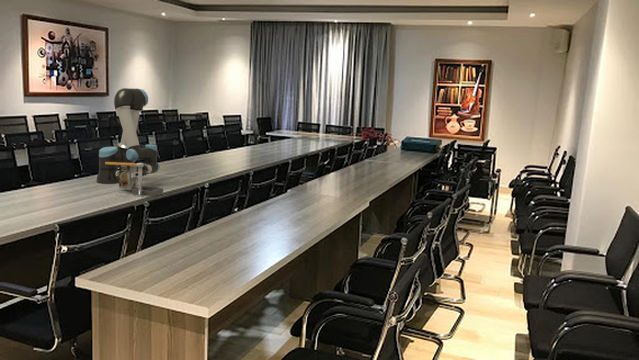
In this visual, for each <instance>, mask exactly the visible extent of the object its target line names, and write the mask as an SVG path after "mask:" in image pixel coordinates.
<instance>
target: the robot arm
mask: <svg viewBox="0 0 639 360" xmlns="http://www.w3.org/2000/svg"><path fill="white" fill-rule="evenodd" d="M148 103H149V96H148V93H147V91H145V89H142V88H127V87H126V88H125V87H124V88H120V89H118V90H117V92H116V93H115V95H114V99H113V106H114V110H115V111H116V112H117V115H118V118H119V121H120V125H121V128H122V134H121V139H120V142H119V143H117V146H104V147H102V148H100V149H99V150H98V166H99V167H98V173H97V176H96V183H99V184H106V185H107V184H109V185H111V184H119V169H118V168H119V165H110V164H105V162H117V163H122V162H128V163H135V162H136V161H141V160H142V161H143V160H144V167H142V177H144V176H147V175H151V174H155V173H158V172H159V170H160V164H159V162H157V161H158V146H157V145H156V144H150V143H149V144H145V145H144V147H141V144H140V143H139V137H138V134H137V129H138V124H139V118H140V113H141V112H142V111H143V110H144V107H145V106H147V105H148ZM133 177H137V178H138V167H137V172H134V173H131V178H133Z"/></svg>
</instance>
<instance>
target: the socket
mask: <svg viewBox="0 0 639 360" xmlns="http://www.w3.org/2000/svg"><path fill="white" fill-rule="evenodd" d="M162 192H163V193H164V188H163V187H158V186H148V185H142V194H145V195H148V196H147V197H154V196H157V195H160V194H163V193H162ZM159 193H160V194H159ZM136 194H138V187H137V188H135V189H132V193H131V195H136Z"/></svg>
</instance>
